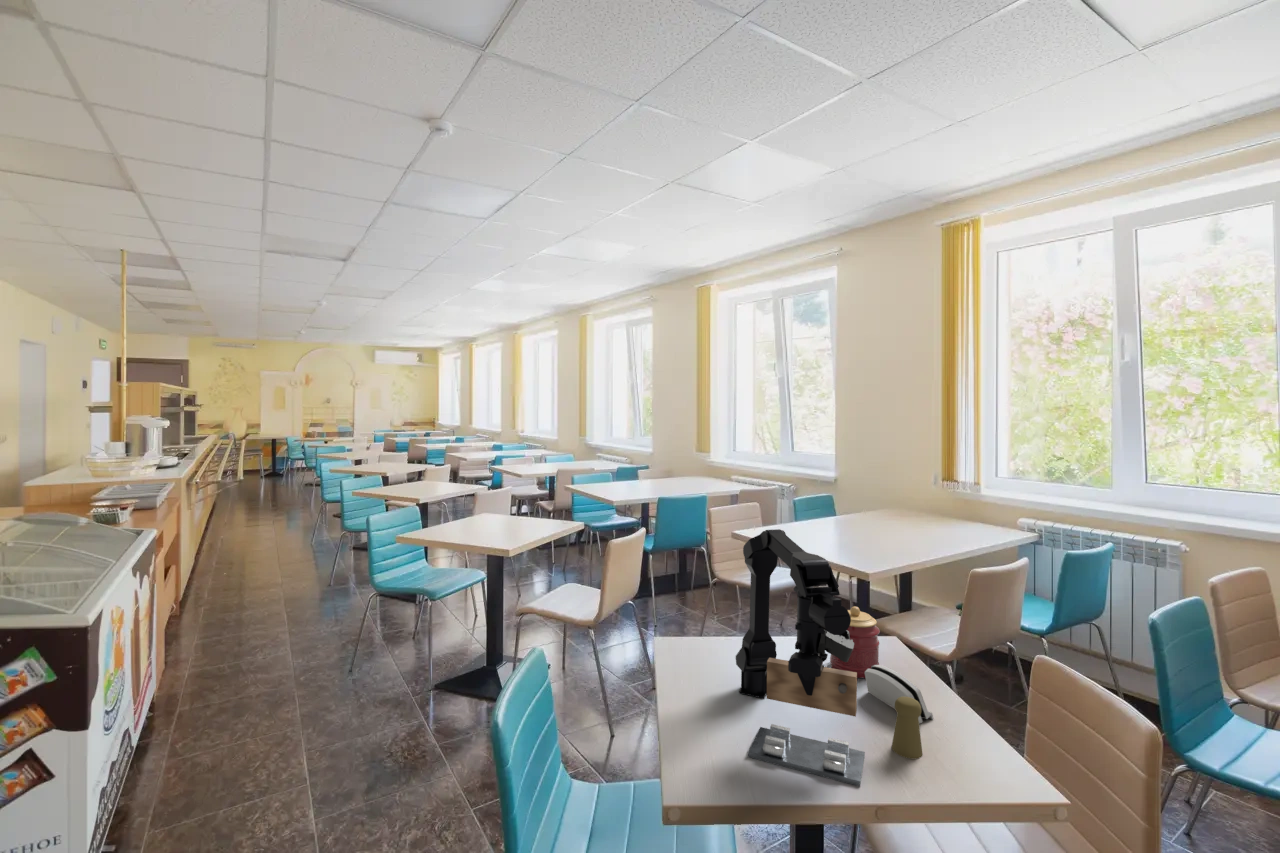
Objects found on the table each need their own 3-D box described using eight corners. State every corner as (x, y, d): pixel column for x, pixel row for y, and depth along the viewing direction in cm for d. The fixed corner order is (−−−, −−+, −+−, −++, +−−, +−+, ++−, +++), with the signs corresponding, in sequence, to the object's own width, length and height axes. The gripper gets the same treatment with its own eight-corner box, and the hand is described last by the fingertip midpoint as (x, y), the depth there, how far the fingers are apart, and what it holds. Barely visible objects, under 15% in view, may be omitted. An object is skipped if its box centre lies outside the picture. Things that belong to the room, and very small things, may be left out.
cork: (886, 743, 128) (887, 693, 128) (912, 742, 128) (913, 692, 128) (900, 759, 122) (902, 706, 122) (928, 758, 122) (929, 706, 122)
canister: (838, 655, 174) (839, 596, 174) (884, 667, 167) (885, 605, 166) (823, 670, 164) (824, 608, 164) (871, 683, 156) (873, 618, 156)
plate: (747, 756, 122) (748, 740, 122) (760, 731, 132) (760, 715, 132) (860, 786, 113) (860, 768, 112) (864, 756, 122) (864, 740, 122)
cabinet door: (765, 701, 125) (765, 663, 125) (768, 694, 128) (769, 657, 128) (855, 719, 117) (855, 679, 117) (856, 711, 121) (856, 672, 121)
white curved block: (935, 720, 138) (925, 682, 136) (920, 730, 136) (910, 692, 135) (882, 688, 153) (873, 654, 152) (869, 697, 152) (859, 663, 150)
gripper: (847, 639, 111) (846, 720, 111) (855, 610, 128) (854, 682, 128) (788, 630, 116) (787, 708, 116) (803, 604, 133) (802, 672, 133)
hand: (810, 692), depth 123 cm, fingers closed on cabinet door, 2 cm apart
